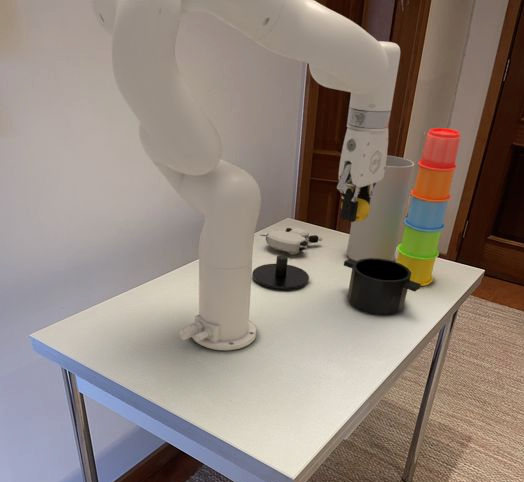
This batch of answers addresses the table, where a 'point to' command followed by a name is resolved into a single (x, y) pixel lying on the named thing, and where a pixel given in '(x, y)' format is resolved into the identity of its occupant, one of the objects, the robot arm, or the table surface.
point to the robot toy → (290, 240)
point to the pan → (379, 285)
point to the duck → (361, 208)
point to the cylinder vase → (382, 214)
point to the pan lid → (280, 275)
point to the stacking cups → (429, 204)
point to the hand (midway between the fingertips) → (354, 216)
